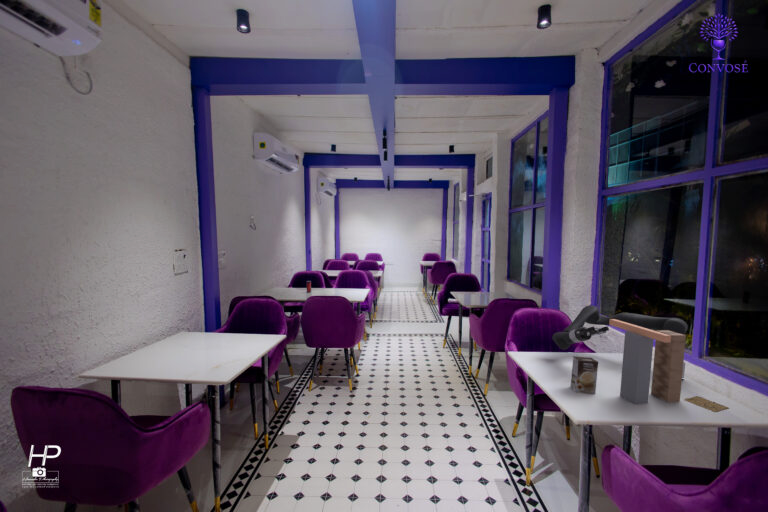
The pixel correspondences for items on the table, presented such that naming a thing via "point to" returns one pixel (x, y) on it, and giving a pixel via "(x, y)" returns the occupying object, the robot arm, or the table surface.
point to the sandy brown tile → (706, 404)
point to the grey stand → (636, 368)
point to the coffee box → (584, 374)
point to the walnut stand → (668, 367)
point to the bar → (640, 330)
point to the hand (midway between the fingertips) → (601, 328)
